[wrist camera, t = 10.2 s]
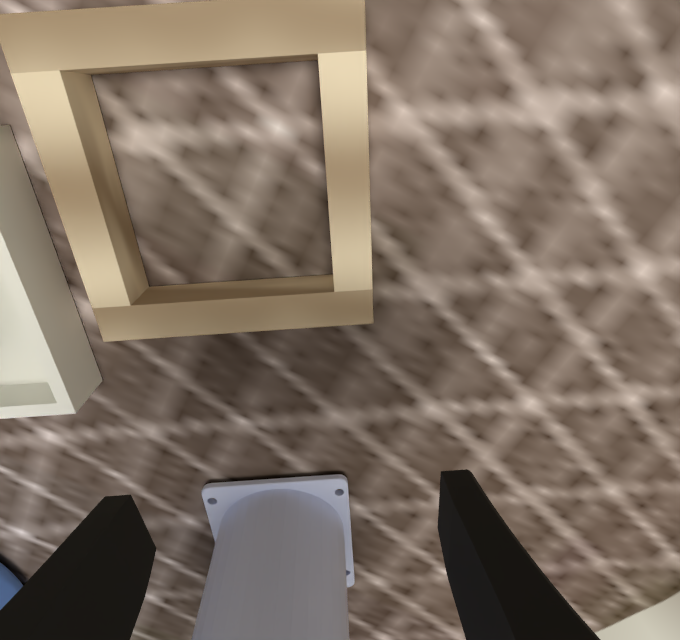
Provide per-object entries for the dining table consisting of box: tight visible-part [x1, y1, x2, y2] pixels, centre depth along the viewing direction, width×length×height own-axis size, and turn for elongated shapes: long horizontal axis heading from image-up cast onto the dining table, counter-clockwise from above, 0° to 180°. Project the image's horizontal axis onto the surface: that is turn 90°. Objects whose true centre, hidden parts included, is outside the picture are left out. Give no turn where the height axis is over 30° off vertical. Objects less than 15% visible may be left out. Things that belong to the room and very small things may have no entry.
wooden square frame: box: [0, 0, 373, 342], centre depth 16 cm, size 11×11×2 cm
